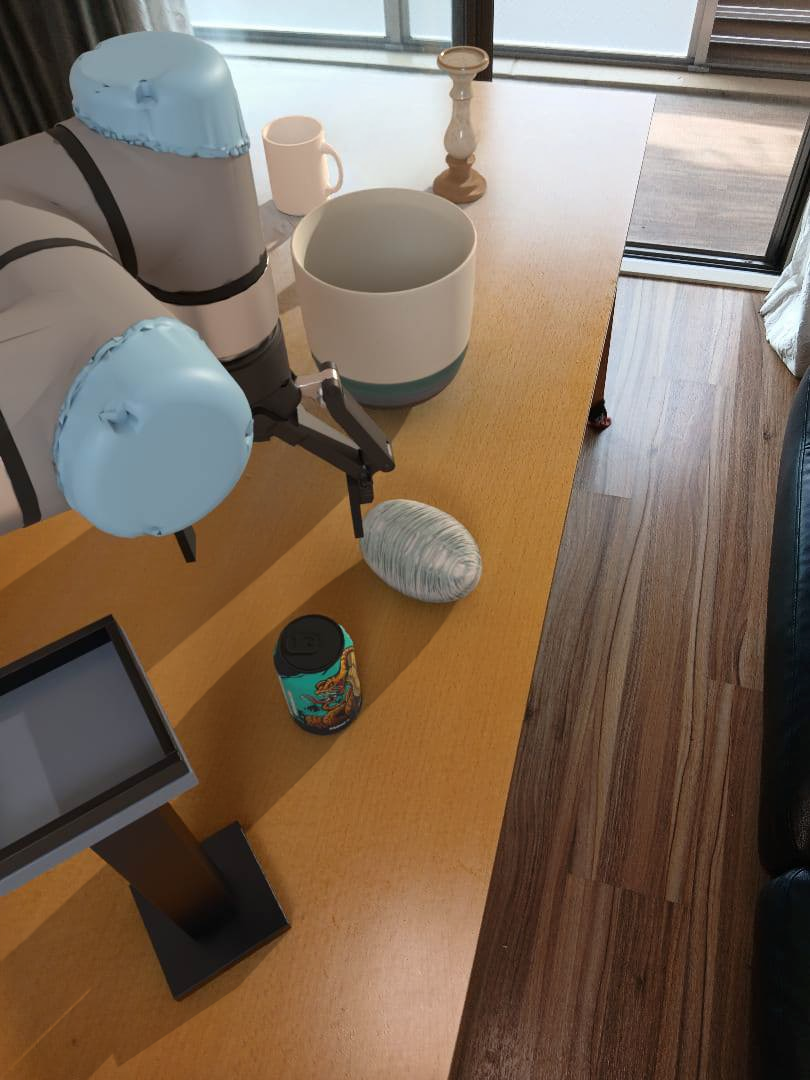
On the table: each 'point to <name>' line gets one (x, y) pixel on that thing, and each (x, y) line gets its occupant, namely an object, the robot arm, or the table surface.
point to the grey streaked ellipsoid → (420, 551)
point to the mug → (298, 163)
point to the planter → (387, 292)
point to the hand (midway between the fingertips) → (275, 537)
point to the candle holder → (461, 127)
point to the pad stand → (122, 804)
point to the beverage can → (318, 674)
